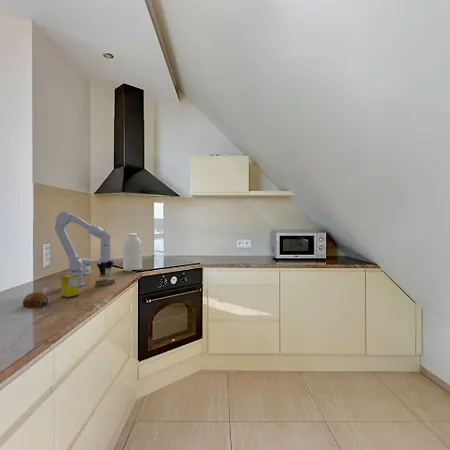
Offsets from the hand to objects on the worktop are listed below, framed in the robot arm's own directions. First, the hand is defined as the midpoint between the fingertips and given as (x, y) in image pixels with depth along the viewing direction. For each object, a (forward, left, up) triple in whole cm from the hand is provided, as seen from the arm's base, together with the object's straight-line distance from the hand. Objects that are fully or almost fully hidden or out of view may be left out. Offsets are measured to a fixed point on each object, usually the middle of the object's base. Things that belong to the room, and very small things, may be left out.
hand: (105, 274), depth 197 cm
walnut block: (0, 0, -6) cm, 6 cm away
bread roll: (-50, +3, -6) cm, 51 cm away
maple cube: (0, 0, -2) cm, 2 cm away
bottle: (+51, +9, -6) cm, 52 cm away
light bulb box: (+27, +36, -6) cm, 45 cm away
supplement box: (-32, 0, -6) cm, 33 cm away
